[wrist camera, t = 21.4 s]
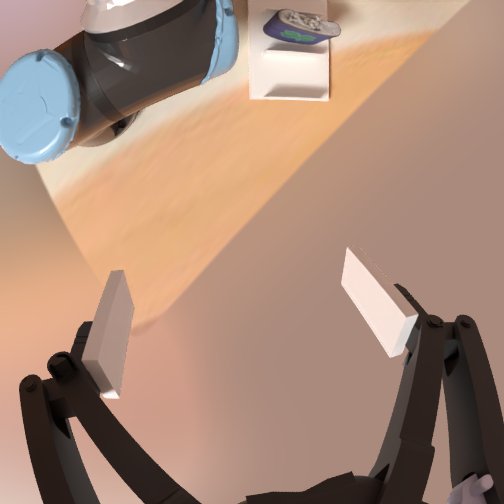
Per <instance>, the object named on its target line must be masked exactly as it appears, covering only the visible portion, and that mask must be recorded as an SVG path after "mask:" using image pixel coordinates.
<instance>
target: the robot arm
mask: <svg viewBox="0 0 504 504" xmlns="http://www.w3.org/2000/svg"><path fill="white" fill-rule="evenodd" d="M86 1H87V4H86V6H85V9H84V11H83V14H82V17H81V20H80V23H81V26H82V28H83V31H82V32H80V33H78V34H76V35H75V36H73V37H72V38H70V39H68V40H67V41H65V42H64V43H62V44H61V45H59V46H58V47H56V48H55V49H54V50H49V49H44V50H42V49H41V50H37V51H34V52H31V53H28V54H26V55H24V56H22V57H20V58H19V59H18V60H16V61H15V62H14V63H13V64H12V65H11V66H10V67H9V69H8V70H7V71H6V72H5V74H4V75H3V77H2V79H1V81H0V145H1V146H2V148H3V149H4V150H5V151H6V153H7V154H8V155H9V156H11V157H12V158H13V159H15V160H18V161H21V162H23V163H25V164H38V163H42V162H48V161H50V160H54V159H56V158H58V157H59V156H60V155H62V154H63V153H64V152H65V151H67V150H69V149H71V148H73V147H75V146H77V145H78V146H83V147H95V146H100V145H104V144H106V143H108V142H110V141H112V140H114V139H116V138H117V137H119V136H120V135H121V134H123V133H124V132H125V131H126V130H127V129H128V128H129V126H130V125H131V124H132V122H133V120H134V119H135V117H136V115H137V112H138V111H139V110H141V109H143V108H145V107H148V106H150V105H152V104H154V103H156V102H159V101H161V100H163V99H166V98H168V97H170V96H173V95H175V94H178V93H180V92H183V91H185V90H188V89H190V88H193V87H195V86H200V85H202V84H204V83H206V82H207V81H208V80H210V79H213V78H215V77H217V76H220V75H222V74H224V73H226V72H228V71H229V70H230V69H231V68H232V67H233V66H234V64H235V62H236V60H237V56H238V51H239V33H238V24H237V19H236V16H235V15H234V13H233V3H232V0H86ZM341 284H342V286H343V287H344V288H345V290H346V292H347V293H348V295H349V296H350V298H351V299H352V301H353V302H354V303H355V305H356V307H357V308H358V309H359V311H360V312H361V314H362V315H363V317H364V318H365V320H366V322H367V323H368V325H369V326H370V327H371V329H372V331H373V332H374V333H375V335H376V337H377V338H378V340H379V341H380V343H381V345H382V346H383V347H384V349H385V351H386V352H387V354H388V356H389V357H394V356H396V355H400V354H402V352H403V350H404V348H405V346H406V347H407V349H408V350H409V352H408V354H407V356H406V358H405V360H404V362H403V365H404V364H405V366H404V371H403V375H402V379H401V384H400V388H399V391H398V395H397V399H396V402H395V406H394V409H393V413H392V417H391V420H390V423H389V426H388V430H387V432H386V436H385V438H384V442H383V444H382V447H381V450H380V453H379V456H378V459H377V461H376V463H375V465H374V467H373V469H372V470H371V472H370V474H369V476H354V475H353V473H352V471H351V472H349V473H346V474H342V475H339V476H336V477H332V478H329V479H327V480H325V481H323V482H321V483H319V484H317V485H315V486H314V487H311V488H310V489H308V490H306V491H303V492H269V493H263V494H257V495H250V496H246V500H247V501H243V502H240V503H238V504H428V503H426V502H423V501H422V497H423V494H424V491H425V488H426V484H427V480H428V477H429V474H430V470H431V466H432V462H433V457H434V452H435V448H434V447H433V446H432V445H431V442H432V437H433V432H434V427H435V422H436V416H437V409H438V404H439V397H440V389H441V380H443V387H444V393H445V401H446V410H447V420H448V431H449V447H450V472H451V482H452V488H453V490H452V492H451V493H450V497H449V498H448V500H447V503H446V504H504V422H503V417H502V412H501V407H500V403H499V399H498V394H497V391H496V386H495V382H494V378H493V375H492V371H491V368H490V364H489V361H488V358H487V354H486V351H485V348H484V345H483V342H482V339H481V336H480V334H479V331H478V328H477V326H476V323H475V321H474V320H473V319H472V318H471V317H469V316H467V315H459V316H457V318H456V320H455V322H444V321H443V320H442V319H441V318H439V317H438V316H435V315H428V314H427V313H426V312H425V310H424V309H423V308H422V307H421V306H420V305H419V303H418V302H417V301H416V300H414V298H413V297H412V295H410V293H409V292H408V291H407V290H406V289H405V288H404V287H402V286H401V285H399V284H392V282H391V281H390V280H389V279H388V278H387V277H386V276H385V274H383V272H382V271H381V270H380V269H379V268H378V267H377V266H376V265H375V263H374V262H373V261H372V260H371V259H370V258H369V257H368V256H367V255H366V254H365V253H364V251H363V250H362V249H361V248H360V247H359V246H350V247H347V251H346V258H345V264H344V270H343V276H342V282H341ZM133 313H134V304H133V301H132V298H131V295H130V291H129V288H128V284H127V281H126V277H125V274H124V270H117V271H111V273H110V275H109V278H108V281H107V283H106V286H105V289H104V291H103V294H102V297H101V300H100V303H99V306H98V309H97V311H96V314H95V318H94V320H93V321H89V322H84V323H83V324H82V325H81V326H80V328H79V329H78V331H77V334H76V338H75V340H74V344H73V346H72V349H71V352H70V353H68V352H65V351H64V352H58V353H56V354H54V355H53V356H52V357H51V358H50V359H49V361H48V364H47V368H48V371H49V372H50V374H51V375H52V377H53V378H50V379H46V380H41V379H40V377H38V376H37V375H34V374H33V375H28V376H27V377H25V378H24V379H23V380H22V381H21V383H20V386H19V393H20V402H21V410H22V417H23V424H24V429H25V435H26V440H27V445H28V450H29V454H30V459H31V463H32V467H33V470H34V474H35V478H36V481H37V485H38V488H39V491H40V494H41V498H42V500H43V503H44V504H100V502H99V500H98V498H97V495H96V493H95V491H94V489H93V486H92V484H91V482H90V479H89V477H88V474H87V472H86V469H85V467H84V464H83V462H82V459H81V456H80V454H79V451H78V448H77V445H76V442H75V439H74V436H73V433H72V430H71V426H70V423H69V419H68V418H71V417H75V416H76V417H77V418H78V420H79V421H80V423H81V424H82V426H83V427H84V429H85V430H86V432H87V433H88V435H89V436H90V438H91V439H92V440H93V442H94V443H95V445H96V446H97V447H98V449H99V450H100V452H101V453H102V454H103V456H104V457H105V458H106V459H107V461H108V462H109V463H110V465H111V466H112V467H113V468H114V469H115V471H116V472H117V473H118V474H119V475H120V477H121V478H122V479H123V480H124V482H125V483H126V484H127V485H128V486H129V487H130V488H131V489H132V491H133V492H134V493H135V494H136V495H137V496H138V497H139V498H140V499H141V500H142V501H143V503H145V504H201V503H200V502H199V501H198V500H196V499H195V498H194V497H193V496H192V495H191V494H189V493H188V492H187V491H186V490H185V489H183V488H182V487H181V486H180V485H179V484H177V483H176V482H175V481H174V480H173V479H172V478H171V477H170V476H169V475H168V474H167V473H166V472H165V471H164V470H163V469H161V467H160V466H159V465H158V464H157V463H156V462H155V461H154V460H153V459H152V458H151V457H150V456H149V455H148V454H147V453H146V452H145V451H144V450H143V449H142V448H141V447H140V445H139V444H138V443H137V442H136V441H135V440H134V439H133V438H132V437H131V435H130V434H129V433H128V432H127V431H126V430H125V428H124V427H123V426H122V425H121V424H120V423H119V421H118V420H117V419H116V417H115V416H114V415H113V414H112V413H111V411H110V410H109V409H108V407H107V406H106V405H105V403H104V402H103V401H102V400H101V398H100V391H101V393H102V395H103V396H104V397H105V398H120V391H121V383H122V376H123V369H124V363H125V357H126V351H127V345H128V338H129V334H130V328H131V323H132V318H133Z"/></svg>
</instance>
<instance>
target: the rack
mask: <svg viewBox="0 0 504 504" xmlns="http://www.w3.org/2000/svg"><path fill="white" fill-rule="evenodd" d="M247 4H248V54H249V99H283V100H311V101H329V42H328V40H325V41H322V42H320V43H317V44H314V45H306V44H297V43H292V42H286V41H281V40H278V39H275V38H272V37H270V36H268V35H266V34H265V33H264V32H263V26H264V25H265V24H266V23H267V22H268V21H269V20H270V19H271V18H272V17H273V16H274V14H276V12H277V11H279V10H281V9H290V10H293V11H295V12H297V13H299V14H302V15H305V16H308V17H311V18H315V19H316V17H315V16H318V17H319V18H321V20H323V21H328V12H327V0H247Z"/></svg>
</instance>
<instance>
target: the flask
mask: <svg viewBox="0 0 504 504" xmlns="http://www.w3.org/2000/svg"><path fill="white" fill-rule="evenodd" d="M315 17H316V19H315V18H311V17H308V16H305V15H302V14H299V13H297V12H295V11H293V10H290V9H281V10H279V11H277V12H276V14H274V16H273V17H272V18H271V19H270V20H269V21H268V22H267V23H266V24H265V25H264V26H263V32H264V33H265V34H266V35H268V36H270V37H272V38H275V39H278V40H281V41H286V42H292V43H297V44H306V45H314V44H317V43H320V42H322V41H325V40H328V39H330V38H333V37H337V36H339V35H340V33H341V29H340V26H339V25H338V24H337V23H334V22H331V21H323V20H321V18H319V17H318V16H315Z"/></svg>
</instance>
